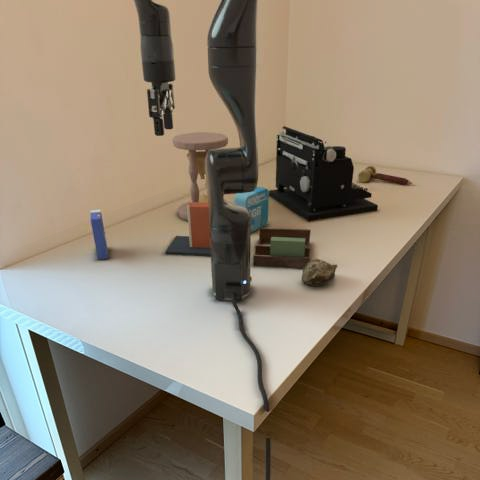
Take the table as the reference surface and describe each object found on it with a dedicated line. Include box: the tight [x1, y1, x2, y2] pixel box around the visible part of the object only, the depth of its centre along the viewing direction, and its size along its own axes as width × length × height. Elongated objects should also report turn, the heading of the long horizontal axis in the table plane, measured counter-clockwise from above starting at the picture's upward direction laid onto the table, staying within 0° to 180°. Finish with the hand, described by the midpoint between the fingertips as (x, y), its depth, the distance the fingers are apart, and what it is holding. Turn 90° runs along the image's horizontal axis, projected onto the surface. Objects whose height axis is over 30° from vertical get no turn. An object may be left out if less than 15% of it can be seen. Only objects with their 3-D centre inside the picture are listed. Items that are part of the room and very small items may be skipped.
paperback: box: [270, 237, 306, 257], centre depth 124 cm, size 2×9×7 cm, turn 82°
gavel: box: [357, 165, 413, 186], centre depth 191 cm, size 21×5×10 cm
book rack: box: [252, 227, 311, 269], centre depth 130 cm, size 17×15×4 cm
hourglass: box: [172, 131, 229, 221], centre depth 154 cm, size 18×18×25 cm
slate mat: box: [164, 235, 211, 257], centre depth 136 cm, size 12×20×1 cm, turn 82°
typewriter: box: [268, 125, 379, 223], centre depth 163 cm, size 31×27×25 cm
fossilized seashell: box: [301, 258, 338, 287], centre depth 116 cm, size 8×7×10 cm
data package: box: [233, 185, 270, 233], centre depth 145 cm, size 12×4×12 cm, turn 142°
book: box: [187, 201, 210, 248], centre depth 132 cm, size 4×10×12 cm, turn 82°
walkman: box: [90, 209, 109, 260], centre depth 129 cm, size 8×3×12 cm, turn 14°
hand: (164, 132), depth 117 cm, fingers open, 8 cm apart
